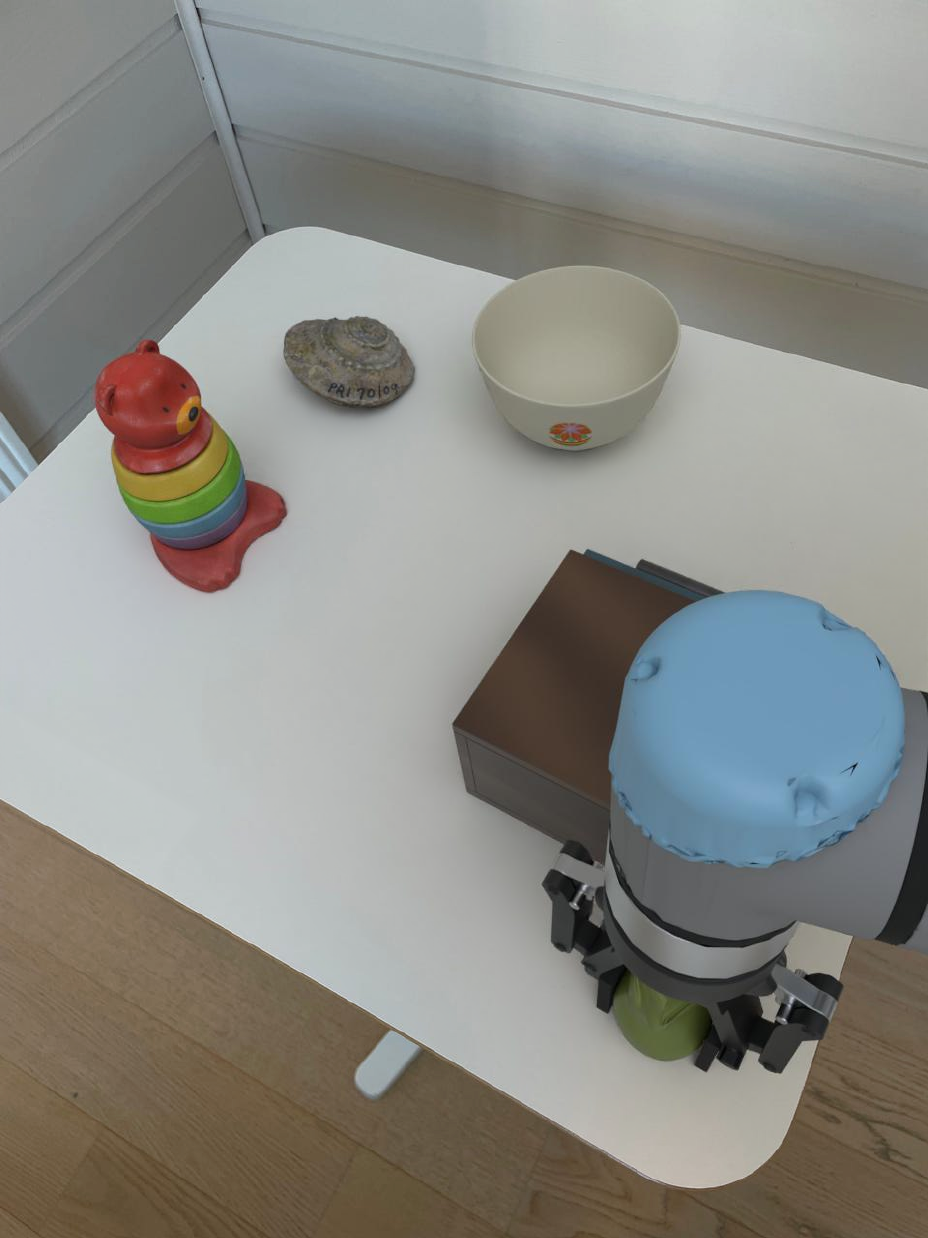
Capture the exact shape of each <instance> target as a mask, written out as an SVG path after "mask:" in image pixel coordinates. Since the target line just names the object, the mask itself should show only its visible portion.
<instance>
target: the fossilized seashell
mask: <svg viewBox="0 0 928 1238" xmlns="http://www.w3.org/2000/svg"><path fill="white" fill-rule="evenodd" d="M283 339H284V340H283V349H282V350H283V359H284V360H285V364H286V366H287V367H288V369H289V371H290V372H291V373H292V375H293V376H294V378H296V379H297V380H298V382H300V383H301V385H303V386H304V387H306V389H308V390H310V391H311V392H312V393H314V394H316V395H317V396H319V397H320V398H323V399H325V400H327V401H330V402H331V403H333V404H336V405H339V406H343V407H352V408H353V407H366V408H367V407H368V408H373V407H378V406H381V405H384V404H388V403H390V402H392V401H394V400H395V399H396V398H398V397H399V396H400V395H402V394H403V393H404V392H405V391H406V390H407V388H409V386H410V385H411V384H412V382H413V381H414V373H415V371H416V367H415V365H414V362H413V360H412V359H411V357H410V356H409V353H408V350H407V348H406V347H405V346H404V345H403V344H402V343H401V342H400V337H399V336H397V335H396V334H395V331H394V330H392V329H391V328H389V327H388V326H387V325H386V324H385V323H383V322H381V321H380V320H378V319H376V318H371V317H369V316H361V315H360V316H359V315H356V316H354V317H353V316H351V317H349V318H348V319H340V318H337V317H335V316H334V317H333V318H328V319H320V318H316V319H306V320H305V319H304V320H302V321H300V322H297V323H295V324H294V325H292V326H290V327H289V328H288V329H287V331H285V334H284V338H283Z"/></svg>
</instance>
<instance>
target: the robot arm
mask: <svg viewBox="0 0 928 1238" xmlns="http://www.w3.org/2000/svg"><path fill="white" fill-rule="evenodd" d="M609 771H610V772H611V808H610V819H609V832H608V842H607V851H606V860H605V866H604V865H602V864H601V863H599V862H598V861H595V860H593V859H592V857H591V855H590V854H589V852H588V850H587V849H586V848H585V847H584V846H583V845H582V844H580V843H579V842H576V841H573V840H567V841H566V842H565V844H563V846H562V847H561V849H560V851H559V853H558V855H557V857H556V858H555V859H554V861H553V863H552V865H551V867H550V868H549V870H548V872H547V874H546V875H545V877H544V878H543V880H542V882H541V886H542V888H543V890H544V891H545V893H546V894H547V896H548V898H549V899H550V900H551V902H552V903H551V904H552V905H551V925H550V926H551V927H550V929H551V930H550V944H552V945H553V947H554V948H555V949H556V950H558V951H559V952H560V953H566V954H571V953H572V952H573V950H575V951H577V952H578V953H580V954H581V955H582V956H583V957H582V959H581V961H580V964H581V965H582V966H584V970H583V971H585V973H586V974H587V975H588V976H589V977H591V978H593V979H595V980H597V981H598V982H597V993H596V994H597V996H596V1008H597V1009H599V1010H600V1011H602V1012H604V1013H605V1014H607V1015H608V1014H609V1013H610V1011H611V1009H612V1008H613V996H614V991H615V988H616V986H617V984H618V982H619V980H620V979H621V977H622V976H623V974H624V973H625V972H626V970H627V969H629V971H630V972H631V973H632V974H633V975H634V976H636V977H637V978H638V979H639V980H640V981H641V982H643V983H644V984H645V985H647V986H648V987H650V988H651V989H653V990H655V991H657V992H659V993H661V994H663V995H665V996H667V997H670V998H673V999H676V1000H680V1001H684V1002H690V1003H697V1004H699V1005H701V1006H703V1007H705V1008H707V1009H708V1011H709V1013H710V1016H711V1018H712V1021H713V1024H712V1027H711V1030H710V1032H709V1035H708V1036H707V1038H706V1040H705V1041H704V1042H703V1044H702V1047H701V1049H700V1051H699V1053H698V1055H697V1058H696V1060H695V1062H694V1064H693V1066H695V1067H696V1068H698V1069H700V1070H701V1071H703V1072H705V1073H707V1072H708V1071H709V1069H710V1068H711V1066H712V1064H713V1062H714V1060H715V1059H716V1060H717V1061H718V1062H719V1063H720V1064H722V1065H723V1066H725V1067H727V1068H729V1069H731V1070H734V1071H740V1070H739V1069H740V1067H741V1066H742V1063H743V1061H744V1058H745V1056H746V1054H747V1051H750V1052H753V1053H756V1054H758V1055H759V1056H758V1059H757V1062H758V1063H759V1064H760V1065H761V1066H762V1067H763V1069H765V1070H766V1071H768V1072H770V1073H773V1074H779V1075H781V1074H782V1073H783V1072H784V1070H785V1069H786V1067H787V1066H788V1064H789V1063H790V1061H791V1060H792V1058H793V1057H794V1055H795V1054H796V1052H797V1050H798V1049H799V1048H800V1046H801V1044H802V1043H803V1042H811V1041H812V1042H813V1041H823V1040H824V1038H825V1036H826V1033H827V1031H828V1029H829V1025H830V1023H831V1021H832V1018H833V1015H834V1013H835V1011H836V1008H837V1006H838V1003H839V1002H840V998H841V996H842V993H843V991H844V989H845V985H844V984H843V982H841V981H840V980H838V979H837V978H836V977H835V976H834V975H831V974H829V973H825V972H824V973H823V972H815V973H814V972H813V973H808V972H807V971H805V970H804V969H801V968H796V969H795V971H792V970H791V969H790V968H788V967H787V966H788V957H787V954H786V951H785V950H786V948H787V946H788V944H789V943H790V941H791V940H792V938H793V937H794V935H795V934H796V933H797V930H798V928H799V927H800V925H801V923H803V924H806V925H810V926H814V927H818V928H821V929H824V930H828V931H833V932H837V933H838V934H839V933H840V934H842V935H843V934H844V935H846V936H847V935H848V936H850V937H855V938H858V939H861V940H864V941H865V940H866V941H868V942H871V941H877V942H880V943H883V944H884V943H885V944H888V945H891V946H894V947H898V948H901V949H905V950H907V951H912V952H915V953H918V954H921V955H925V956H928V691H923V690H915V689H911V688H905V687H901V685H900V682H899V680H898V677H897V674H896V673H895V671H894V669H893V667H892V665H891V664H890V662H889V660H888V659H887V657H886V656H885V654H884V653H883V651H882V650H881V649H880V648H879V646H878V645H877V643H876V642H875V641H874V640H873V639H871V638H870V637H869V636H868V635H867V633H866V632H865V631H864V630H862V629H860V628H859V627H853V626H852V625H850V624H849V623H847V622H846V621H845V620H843V619H841V618H840V617H838V616H837V615H835V614H834V613H832V612H831V611H830V610H828V609H826V608H825V606H824V604H822V603H820V602H817V601H815V600H813V599H810V598H807V597H804V596H800V595H795V594H792V593H788V592H783V591H777V590H769V589H768V590H766V589H745V590H736V591H728V592H725V593H723V594H719V595H714V596H711V597H708V598H705V599H702V600H700V601H697V602H695V603H693V604H690V605H688V606H686V607H685V608H683V609H681V610H680V611H679V612H677V613H675V614H673V615H672V616H671V617H669V618H668V619H667V620H665V621H664V622H663V623H662V624H661V625H660V626H659V627H658V628H657V629H656V630H655V631H654V632H653V633H652V634H651V635H650V636H649V637H648V639H647V640H646V641H645V642H644V644H643V645H642V646H641V648H640V649H639V651H638V653H637V655H636V657H635V659H634V661H633V663H632V665H631V668H630V670H629V672H628V674H627V676H626V678H625V682H624V688H623V694H622V699H621V705H620V710H619V716H618V722H617V727H616V731H615V735H614V739H613V743H612V746H611V750H610V753H609ZM603 866H604V869H603ZM594 901H595V902H594ZM594 903H596V905H597V906H598V908H599V909H600V910H601V911H602V912H603V919H602V921H601V923H600V925H599V926H598V925H597V924H595V923H594V922H592V921H591V920H590V918H591V916H592V914H593V910H594ZM773 994H774V995H775V997H774V1001H775V1003H776V1004H778V1006H779V1007H778V1010H777V1012H776V1014H775V1017H774V1021H771V1020H768V1019H766V1018H764V1017H763V1014H764V1008H763V1005H762V1003H761V1002H762V1001H761V997H762V998H763V997H768V996H770V995H773Z"/></svg>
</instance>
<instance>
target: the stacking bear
mask: <svg viewBox="0 0 928 1238" xmlns="http://www.w3.org/2000/svg"><path fill="white" fill-rule="evenodd" d="M93 399H94V400H93V401H94V406H95V410H96V413H97V415H98V417H99V419H100V422H101V423H102V424H103V426H104V427H105V428H106V429H107V430H108V431H109V432H110V433H111V434H112V435H114V436H113V440H112V441H111V447H110V459H111V464H112V469H113V472H114V475H115V481H116V484H117V489H118V491H119V493H120V496H121V498H122V501H123V502H124V504H125V505H126V507H127V509H128V511H129V512H130V514H131V515H132V516H133V517H134V519H135V520H136V521H137V522H138V523H139V524H140V525H141V526H142V527H144V529H146V531H148V532H149V538H150V542H151V545H152V548H153V551H154V553H155V556H156V557H157V559H158V560H159V562H160V563H161V565H162V566H163V568H165V569H166V571H167V572H168V573H169V574H170V575H171V576H172V577H174V578H175V579H176V580H177V581H179V582H181V583H182V584H184V585H186V586H187V587H189V588H192V589H194V590H198V591H199V592H205V593H213V592H215V591H218V590H224V589H226V588H227V587H228V586H230V585H231V583H232V582H233V581H235V580H236V579H237V578H238V577H239V574H240V572H241V567H242V560H243V557H244V555H245V553H246V550H247V549H248V548H249V547H250V545H252V544H253V542H254V541H255V540H256V539H258V538H259V537H261V536H263V535H265V534H267V533H269V532H270V531H273V530H275V529H276V528H277V527H279V526H280V525H281V523H282V520H284V518H285V517H286V516H287V514H288V513H287V508H286V502H285V500H284V498H283V496H282V495H281V494H280V493H279V492H278V491H276V490H275V489H273V488H271V487H268V486H266V485H265V484H261V483H260V482H256V481H253V480H249V479H246V473H245V471H244V466H243V462H242V459H241V456H240V453H239V451H238V449H237V447H236V445H235V444H234V442H233V441H232V439H231V437H230V436H229V435H228V433H227V432H226V431H225V430H224V429H223V428H222V427H221V425H220V424H219V422H217V420H216V419H215V418H214V417H213V416H212V415H211V414H210V413H209V412H208V411H207V410H206V409H205V407H203V406H202V394H201V390H200V388H199V385H198V383H197V382H196V380H195V379H194V377H193V376H192V375H191V373H190V372H189V371H188V370H187V369H186V368H185V367H184V366H182V364H181V363H179V362H177V361H176V360H175V359H173V358H171V357H169V356H167V355H165V354H161V352H160V347H159V344H158V343H157V342H156V341H155V340H153V339H144V340H141V341H140V342H139V343H138V344H137V346H136V348H135V351H134V352H130V353H125V354H122V355H120V356H118V357H116V358H115V359H113V360H112V361H110V362H109V363H107V364H106V365H105V367H104V368H102V369H101V371H100V373H99V375H98V377H97V379H96V382H95V386H94V391H93Z"/></svg>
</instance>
